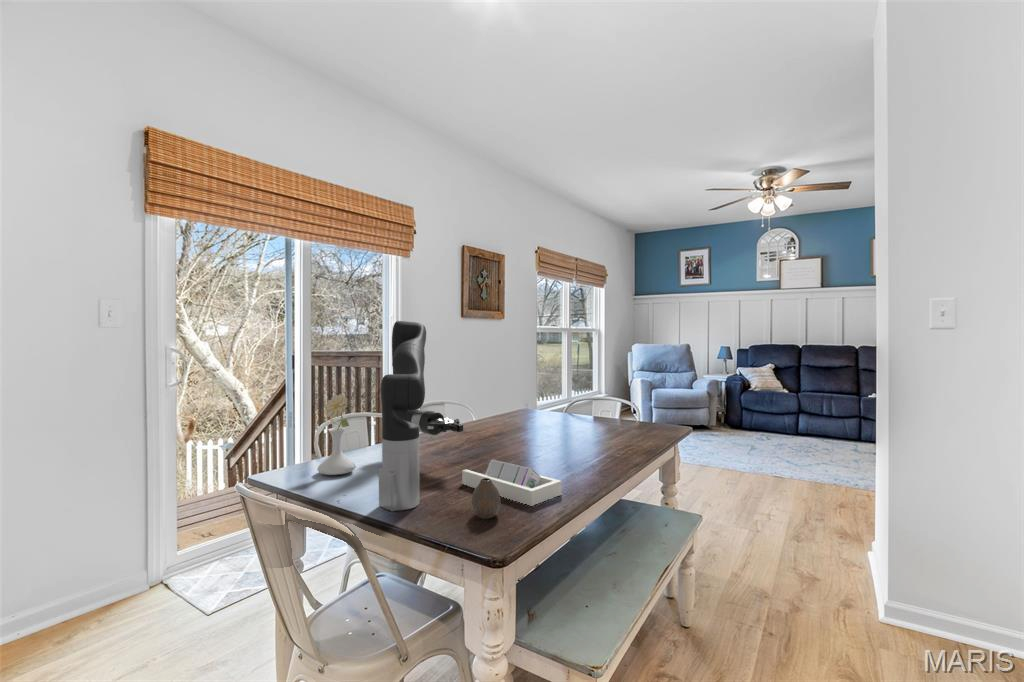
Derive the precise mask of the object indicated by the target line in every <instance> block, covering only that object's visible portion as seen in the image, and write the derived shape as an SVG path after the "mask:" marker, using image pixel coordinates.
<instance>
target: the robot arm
mask: <svg viewBox="0 0 1024 682" xmlns="http://www.w3.org/2000/svg"><path fill="white" fill-rule="evenodd" d="M391 333H392V334H391V365H392V374H391V373H389V374H385V375H384V376H383V377H382V378H381V383H380V402H381V417H382V418H381V421H382V423H381V440H382V441H381V452H382V453H381V461H382V462H381V467H380V468H378V506H379V507H381V508H383V509H385V510H386V511H389V510H390V512H397V511H407V510H410V509H413V508H416V507H418V506H419V504H420V433H423V434H427V435H431V436H437V435H439V434H440V433H446V432H450V433H451V432H456V433H461V432H464V425H463V424H462V423H460V419H459V418H455V419H454V420H453V419H449V418H448V417H444V415H443V414H442V413H441V412H438V411H433V410H428V409H427V410H425V409H423V410H421V408H422V406H423V404H424V401H425V398H426V385H425V378H424V372H425V371H424V370H425V364H426V363H425V359H426V356H425V347H426V346H425V345H426V342H427V341H426V340H427V329H426V326H425V325H424V324H423V323H420V322H416V321H406V320H397V321H395V322H394V324H393V326H392V332H391Z"/></svg>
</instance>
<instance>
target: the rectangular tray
mask: <svg viewBox="0 0 1024 682" xmlns="http://www.w3.org/2000/svg"><path fill="white" fill-rule="evenodd" d="M489 464H490V462H489V463H488V465H489ZM461 473H462V475H461V476H462V477H461V478H462V479H461V484H462V485H463V484H464V485H465V486H466V485H467V487H469V488H472V489H473V488H474V489H475V488H476V487H477V486H478V485H479V483H480V481H481V479H483V478H490V479H491V481H492V483H493V484H494V485H495V487H496V488H497V489H498V491H499V494H500V496H501V497H500V498H503V497H504V498H503V499H506V498H507V499H506V500H509V499H510V500H509V501H512V500H513V502H515V501H517V502H516V503H518V502H520V503H519V504H521V503H523V504H522V505H524V504H527V505H530V506H533V505H535V504H538V503H540V502H543V501H545V500H547V499H550V498H553V497H555V496H558V495H561V494H562V485H563V484H562V483H563V481H562V480H559V479H555V478H553V477H549V476H544V475H542V474H539V475H540V476H541V477H540V480H539V483H538V486H537V487H534V488H528V487H525V486H521V485H518V484H514V483H511V482H508V481H504V480H501V479H497V478H494V477H491V476H487V475H485V474H484V473H480V472H476V471H473V470H470V469H467V468H466V469H463V470H461ZM527 505H526V506H527ZM538 505H539V504H538ZM530 506H529V507H530ZM533 507H534V506H533Z"/></svg>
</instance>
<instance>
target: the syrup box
mask: <svg viewBox="0 0 1024 682" xmlns="http://www.w3.org/2000/svg"><path fill="white" fill-rule="evenodd" d="M489 463H490V464H489ZM489 463H488V466H487V469H486V471H485V474H484V475H487V476H491V477H494V478H497V479H501V480H504V481H508V482H511V483H514V484H518V485H521V486H525V487H528V488H534V487H537V486H538V483H539V480H540V477H541V476H542V475H541V474H539V473H537V472H536V471H535V470H533V469H532V468H531V467H527V466H522V465H518V464H513V463H510V462H505V461H501V460H496V459H491V460H490V462H489ZM540 475H541V476H540Z"/></svg>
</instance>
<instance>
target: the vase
mask: <svg viewBox="0 0 1024 682" xmlns="http://www.w3.org/2000/svg"><path fill="white" fill-rule="evenodd" d="M471 508H472V511H473V512H474V514H475V515H476V516H477V517H478V518H480V519H487V520H488V519H492V518H494V517H495V516H496V515H497V514H498V513H499V510H500V508H501V497H500V494H499V491H498V489H497V488H496V487H495V485H494V484H493V483H492V481H491V479H490V478H483V479H481V481H480V483H479V485H478V486H477V487H476V488H474V490H473V492H472V496H471Z"/></svg>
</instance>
